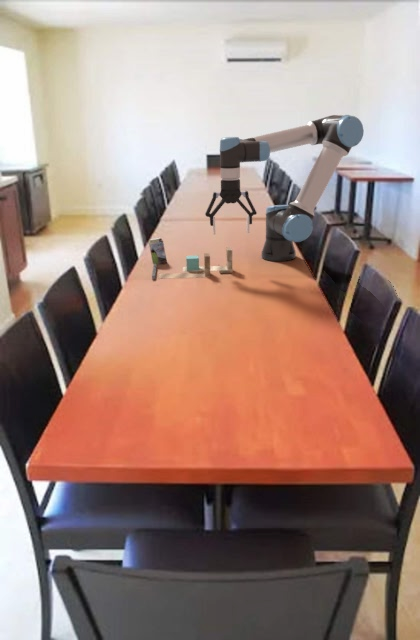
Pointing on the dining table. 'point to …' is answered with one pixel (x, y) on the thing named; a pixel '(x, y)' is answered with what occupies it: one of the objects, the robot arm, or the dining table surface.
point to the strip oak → (191, 275)
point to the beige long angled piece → (219, 268)
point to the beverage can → (157, 251)
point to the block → (192, 263)
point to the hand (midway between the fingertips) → (231, 233)
